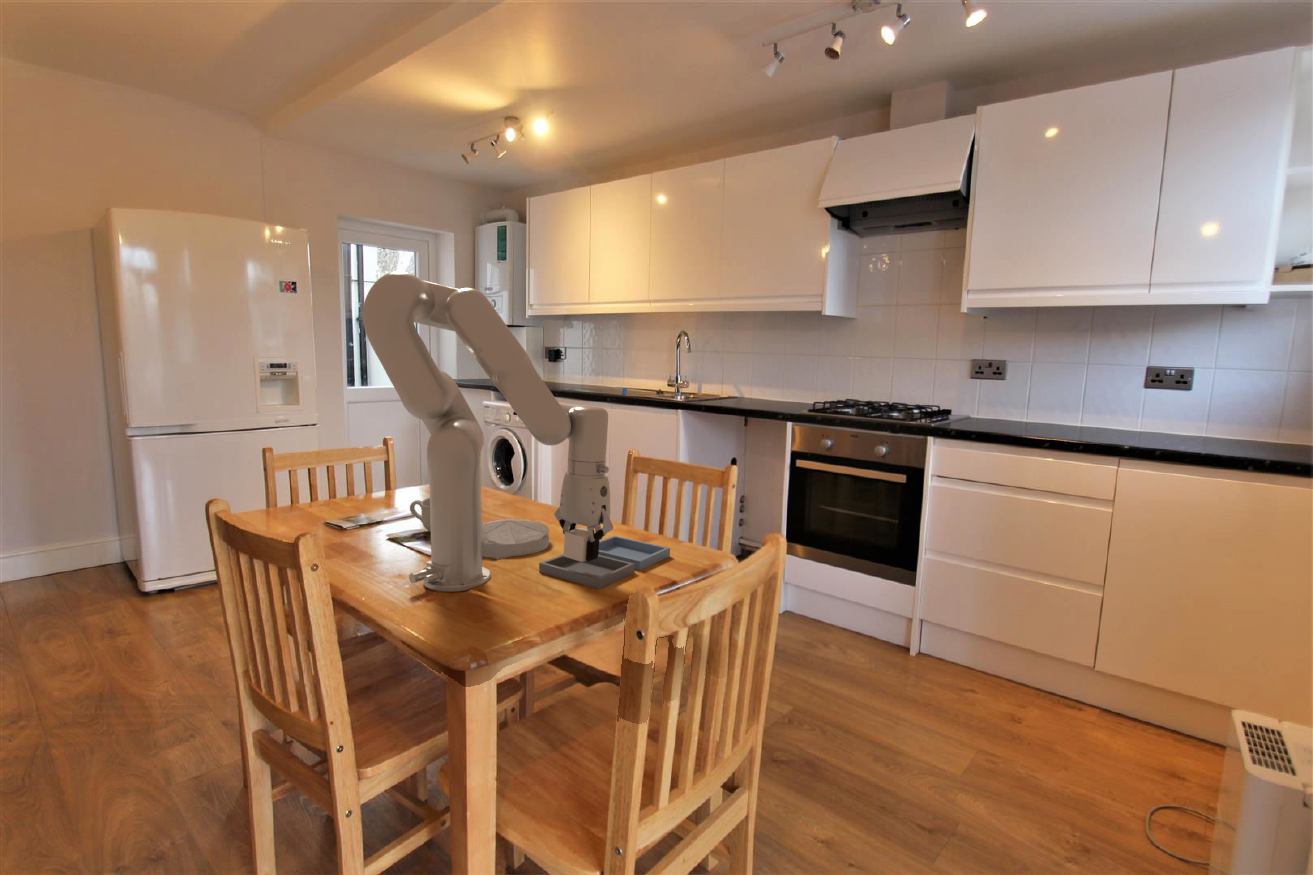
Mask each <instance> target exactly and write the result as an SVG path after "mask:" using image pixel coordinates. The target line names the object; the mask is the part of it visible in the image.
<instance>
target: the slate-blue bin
mask: <svg viewBox="0 0 1313 875" xmlns="http://www.w3.org/2000/svg"><path fill="white" fill-rule="evenodd" d="M598 555H602V556H606V557H610V558H614V559H618V560H622V561H626V562H630V563H634V564H635V570H637V571H642V570H644V569H646V568H649V567H650V566H652V565H655V564H657V563H658V562H661V561H663V560H665V559H667V558H670V556H671V547H668V546H663V545H658V544H654V543H650V542H646V541H640V540H635V539H631V538H628V537H622V536H618V535H612V536H609V537H607V538H604V539H601V540H599V553H598Z"/></svg>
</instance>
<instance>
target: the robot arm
mask: <svg viewBox="0 0 1313 875" xmlns="http://www.w3.org/2000/svg"><path fill="white" fill-rule="evenodd" d="M362 307H363V309H362V322H363V327H364V331H365V333H366V334H365V335H366V337H367V340H368V341H369V344H370V345H371V347H372V349H373V351H374V353H375V355H376V357H377V359H378V360H379V362H380V364H381V365H382V367H383V370H384V371H385V374H386V375H387V377H388V379H389V382H391V385H392V386H393V388H394V389H395V392H396V393H397V395H398V397H399V399H400V401H401V403H402V404H403V406H404V408H405V410H406V411H407V413H409V414H410V415H411V416H412V417H414V418H416V419H418V420H421V421H422V422H423V424H424V426H425V427H426V429H427V430H428V432H429V434H430V436H429V439H428V441H427V447H426V463H427V471H428V482H429V485H428V486H429V488H428V489H429V498H430V520H431V532H430V550H431V551H430V552H431V553H430V556H431V560H429V561H426V566H425V567H424V568H423V569H422V570H417V571H415V572H411V573H410V574H409V575H408V579H409V582H410V583H411V584H416V583H418V582H421V581H423V585H424V586H425V588H428V589H430V590H433V591H438V592H446V593H447V592H451V593H452V592H463V591H469V590H472V588H475V587H478V586H481V585H483V584H485V583H487V582H488V581H489V580H490V578H491V571H490V570H489V569H488V568H486V567H484V566H483V557H482V524H483V521H482V520H483V512H482V504H483V503H482V475H481V474H482V472H481V471H482V470H481V469H482V468H481V457H482V455H481V454H482V450H483V448H484V444H485V443H484V442H485V440H484V439H485V438H484V437H485V436H484V433H483V429H482V427H481V426H480V424H479V421H478V420H477V418H476V416H475V414H474V413H473V410H472V409H471V407H470V406H469V403H468V402H467V400H466V399H465V398H466V397H464V395H463V393H462V390H461V389H460V388H459V386H458V384H457V382H456V381H455V379H453V377H452V376H451V375H449V373H447V372H445V371H444V370H441V369H439V367H438V366H437V364H436V363H435V361H434V359H433V357H432V356H431V353H430V352H429V350H428V348H427V345H426V344H425V342H424V340H423V338H422V337H421V336H420V335H419V333H418V330H417V328H416V325H415V324H420V325H425V326H428V327H433V328H436V329H437V328H438V329H442V330H446V331H451V332H455V334H456V335H457V336H458V338H459V339H460V340H461V341H462V343H463V344H464V345H465V347H466V348H467V349H468V351H469V352H470V354H471V355H472V356H473V357H474V359H475V360H476V361H477V363H478V364H479V365H480V367H481V368H482V370H483V371H484V373H485V374H486V375H487V376H488V378H489V379H490V381H491V382H492V384H493V385H494V386H495V387H496V388H497V390H498V391H499V392H500V394H501V395H502V396H503V397H504V399H505V400H506V401H507V403H508V404H509V405H510V407H511V408H512V410H513V411H514V412H515V414H516V415H517V417H518V418H519V419H520V421H521V422H522V424H524V426H525V427H526V428H527V430H528V431H529V433H530V434H531V436H532V437H533V438H534V439H535V440H536V441H538V442H539V443H540V444H543V445H544V446H545V445H546V446H557V445H560V444H562V443H564V442H565V440H567V439H568V452H567V453H568V455H567V465H566V466H567V467H566V468H567V470H566V472H565V473H564V478H563V480H562V486H561V489H560V500H559V501H560V502H559V506H558V508H557V509H556V510H555V512H554V514H553V516H554V517H555V518H556V520H557V522H558V523H559V525H560V527H561V528H562V534H563V535H564V536H565V532H568V531H571V530H575V529H578V525H580V526H584V527H586V528H587V530H588V535H589V540H590V541H587V548H586V560H587V561H591V560H594V559H596V558H598V553H599V541H601V540H603V538H604V537H605V536H606V535H607V534H608V533H610V532H611V531H613V530H614V525H613V523H612V521H611V491H610V481H609V477H608V476H607V475H606V474H608V472H609V471H610V470H609V469H610V468H609V466H607V465H606V458H607V446H608V445H607V442H608V431H609V430H608V429H609V428H608V427H609V412H608V411H607V409H605V408H603V407H601V406H589V405H578V406H573V405H567V404H561V403H560V402H559V401H558V400H557V398H556V397H555V395H554V394H553V393H552V391H551V390H550V389H549V388H548V386H547V384H546V383H545V382H544V380H543V379H542V378H541V376H540V374H539V373H538V372H537V370H536V368H535V366H534V364H533V361H532V360H531V358H530V356H529V354H528V353H527V352H526V350H525V349H524V347H523V346H522V345H521V343H520V342H519V340H518V338H516V335H515V334H513V332H512V330H511V329H510V328H509V326H508V325H507V324H506V322H505V321H504V320H503V318H502V317H501V316H500V314H499V313H498V312H497V310H496V309H495V307H494V306H493V304H492V303H491V302H490V301H489V299H488V297H487V296H486V295H485V294H484V293H483V292H482V291H480V290H478V289H476V288H471V287H464V288H455V287H450V286H447V285H442V284H439V283H434V282H431V281H428V280H423V279H421V278H419V277H417V276H416V275H414V274H412V273H409V272H407V271H401V270H397V271H396V270H395V271H391V272H388V273H386V274H384V275H382V276H381V277H379V278H378V279H377V280H376V281H375V282H374V283H373V285H372V286H371V287H370V288H369V290H368V292H367V295H366V297H365V300H364V303H363V306H362ZM594 531H595V533H594Z"/></svg>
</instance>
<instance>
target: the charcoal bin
mask: <svg viewBox="0 0 1313 875" xmlns="http://www.w3.org/2000/svg"><path fill="white" fill-rule="evenodd" d="M538 569H539V570H538V571H539V572H538V573H540V574H544V575H548V576H551V577H555V578H558V579H562V580H565V581H569V582H572V583H575V584H579V585H583V586H586V587H588V588H593V589H595V590H600V589H603V588H605V587H607V586H609V585H612V584H614V583H616V582H618V581H620V580H622V579H625V578H627V577H629V576H631V575H633V574H635V570H636V569H635V564H634V563H630V562H626V561H622V560H618V559H614V558H610V557H606V556H602V555H598V558H596V559H594V560H591V561H584V562H581V561H577V560H574V559H571V558H568V557H564V553H563V554H561V555H557V556H555V557H552V558H549V559H546V560H544V561H541V562H539V563H538Z"/></svg>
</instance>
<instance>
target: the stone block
mask: <svg viewBox="0 0 1313 875" xmlns="http://www.w3.org/2000/svg"><path fill="white" fill-rule="evenodd" d="M594 533H595V530H594ZM587 541H590V540H589V535H588V529H586V528H583V527H578V528H576V529H575V530H571V531H568V532H565V535H564V541H563V542H564V543H563V554H564V557H568V558H571V559H574V560H577V561H581V562H584V561H587V560H586V548H587Z"/></svg>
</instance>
